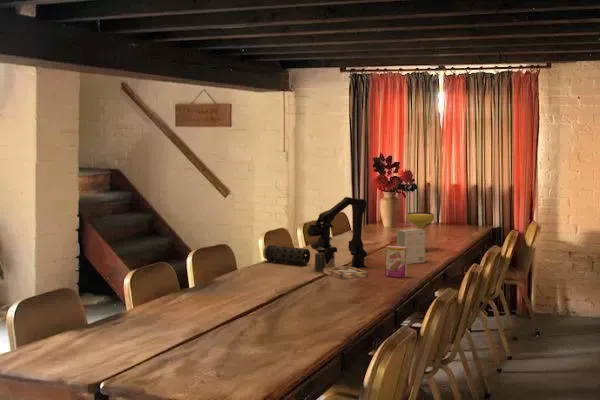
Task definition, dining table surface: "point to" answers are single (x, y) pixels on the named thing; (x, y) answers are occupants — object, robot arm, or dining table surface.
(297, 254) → the muzzle brake
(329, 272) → the slot rack
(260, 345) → the dining table surface
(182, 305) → the dining table surface
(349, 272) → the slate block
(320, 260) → the camera
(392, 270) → the candy bar box
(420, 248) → the hard drive box
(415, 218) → the cocktail glass
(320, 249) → the robot arm
